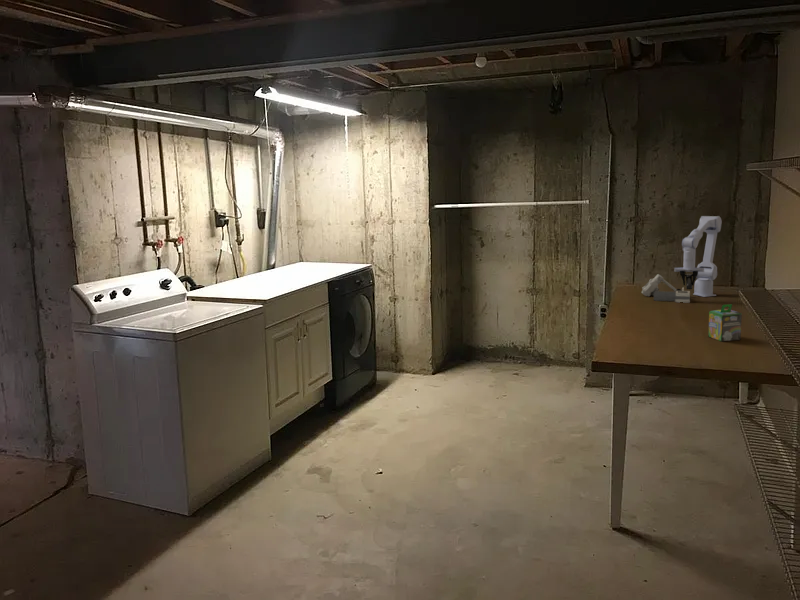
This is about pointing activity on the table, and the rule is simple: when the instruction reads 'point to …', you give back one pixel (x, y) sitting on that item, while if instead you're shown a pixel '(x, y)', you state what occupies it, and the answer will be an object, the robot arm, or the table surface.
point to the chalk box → (725, 324)
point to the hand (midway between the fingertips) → (688, 285)
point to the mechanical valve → (655, 286)
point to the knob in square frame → (672, 296)
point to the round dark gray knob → (689, 281)
